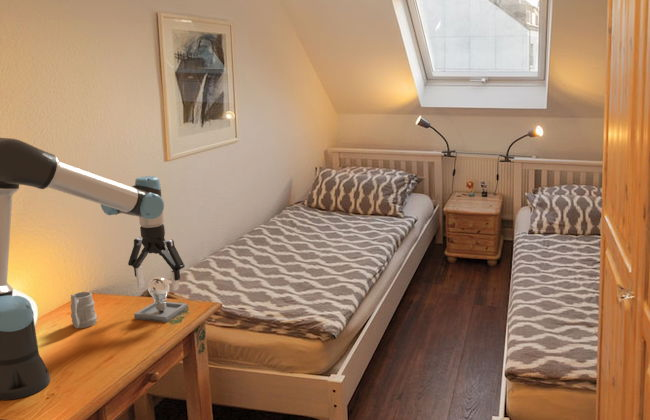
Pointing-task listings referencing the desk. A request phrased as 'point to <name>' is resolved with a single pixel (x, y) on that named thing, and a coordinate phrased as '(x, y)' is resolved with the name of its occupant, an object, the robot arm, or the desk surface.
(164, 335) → the desk surface
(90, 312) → the mug
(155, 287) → the light bulb
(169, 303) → the dish
